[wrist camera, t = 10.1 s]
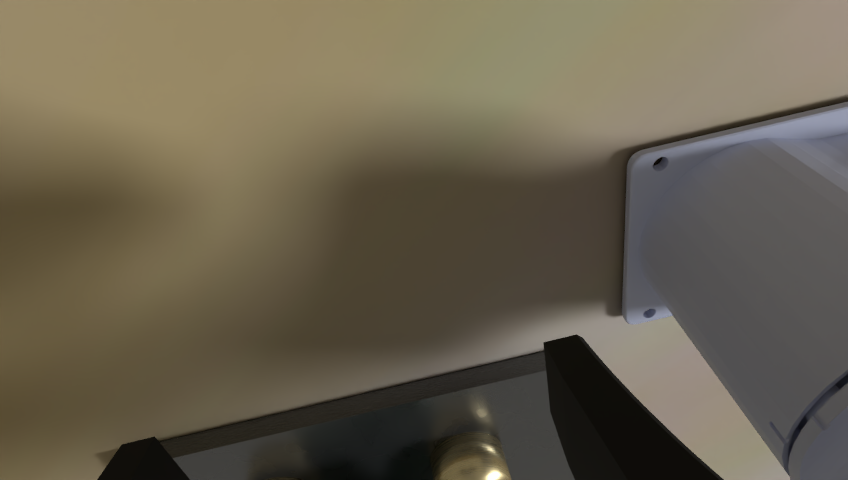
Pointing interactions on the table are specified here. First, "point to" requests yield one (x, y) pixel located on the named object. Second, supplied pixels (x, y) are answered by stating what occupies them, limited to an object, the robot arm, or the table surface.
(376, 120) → the table surface
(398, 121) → the table surface
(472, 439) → the chassis
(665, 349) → the table surface
